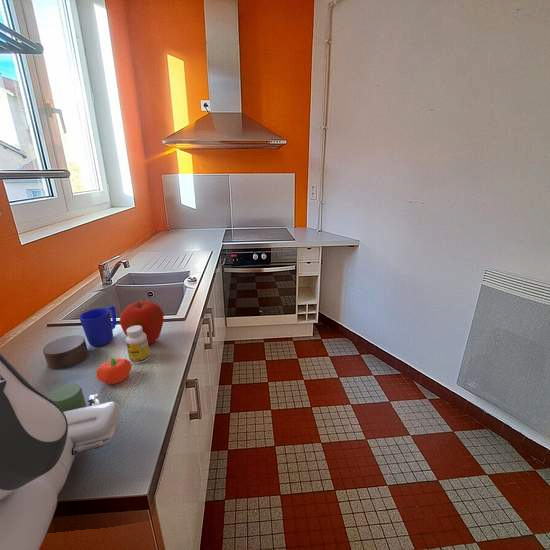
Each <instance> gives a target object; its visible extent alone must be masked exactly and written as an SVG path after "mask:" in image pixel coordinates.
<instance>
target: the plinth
mask: <svg viewBox="0 0 550 550" xmlns="http://www.w3.org/2000/svg"><path fill="white" fill-rule="evenodd" d="M42 353H43V356H44V359H45V363H46V366H47V368H48V369H49V370H54V371H60V370H65V369H69V368H72V367H74V366H77V365H79V364H81V363H82V362H84V361H85V360H86V359H87V358H88V357H89V355H90V354H89V350H88V345H87V342H86V338H85V337H84V336H83V335H78V334H74V335H66V336H63V337H60V338H56V339H54V340H53V341H51V342H49V343H47V344H46V345H45V346H44V347H43V348H42Z"/></svg>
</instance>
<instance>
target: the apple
mask: <svg viewBox="0 0 550 550" xmlns="http://www.w3.org/2000/svg"><path fill="white" fill-rule="evenodd" d="M164 315H165V313H164V311H163V310H162V308H161V306H160V305H159V304H158V303H155V302H153V301H150V300H149V301H147V300H146V301H136V302H133V303H131V304H129V305H126V307H125V308H124V309H123V311H122V312H120V316H119V324H120V326H121V327H120V328H121V329H122V331H123V333H124V335H125V336H126V337H127V336H128V335H127V331H126V330H127V329H128V328H129V327H131V326H135V325H139V326H142V329H143V332H144V333H145V334H146V336H147V341H148V345H151V344H153V343H154V342H155V341H156V340H157V339H158V338H160V336H161V334H162V333H161V332H162V329H163V325H164V319H165V318H164V317H165V316H164Z"/></svg>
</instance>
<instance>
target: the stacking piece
mask: <svg viewBox="0 0 550 550" xmlns="http://www.w3.org/2000/svg"><path fill="white" fill-rule="evenodd" d="M83 392H84V391H83V388H82V386H81V384H79V383H76V382H72V383H67V384H64V385H61V386H59V387H58V388H56V389H54V390H53V391H52V392H51V393H50V395H49V399H50V400H51V401H52V402H54V403H55V404H56V405H57V406H58V407H59V408H60V409H61V410H62V411H63V412H65V411H69V410H74V409H78V408H83V407H88V406H87V403H86V399H85V396H84V393H83Z"/></svg>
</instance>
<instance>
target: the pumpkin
mask: <svg viewBox="0 0 550 550" xmlns="http://www.w3.org/2000/svg"><path fill="white" fill-rule="evenodd" d="M132 367H133V363H131V362H130V359H129V360H128V359H127V358H120V357H119V358H110V359H109V360H107V361H105V362H104V363H102V364H101V365H99V366H98V368H96V369H97V370H96V372H95V374H96V378H97V380H98V381H100V383H103V384H107V385H113V384H118V383H121V382H123V381H124V380H125V379H126V378H127V377H129V375H130V373H131V371H132Z"/></svg>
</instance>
